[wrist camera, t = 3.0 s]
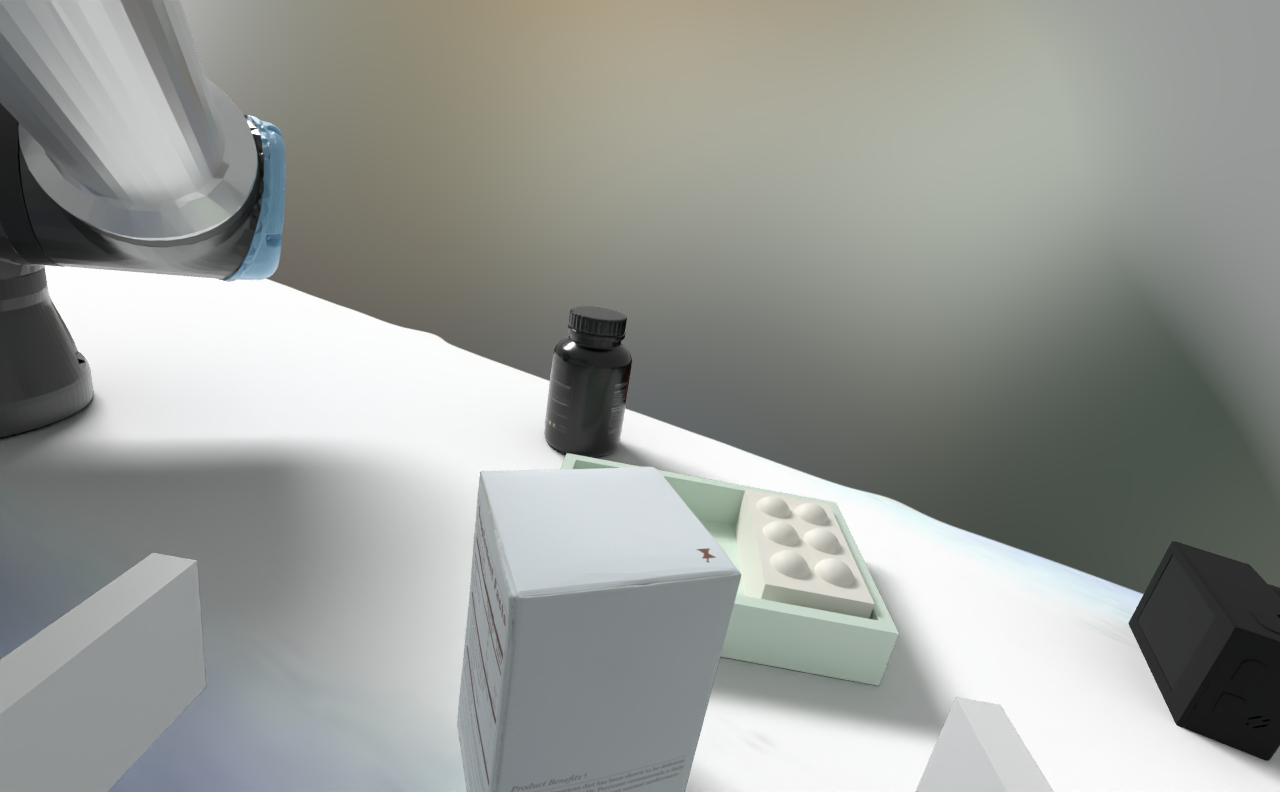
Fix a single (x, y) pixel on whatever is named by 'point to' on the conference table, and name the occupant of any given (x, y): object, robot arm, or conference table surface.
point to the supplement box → (589, 632)
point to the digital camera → (1214, 647)
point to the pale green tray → (772, 625)
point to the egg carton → (798, 555)
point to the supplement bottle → (589, 384)
